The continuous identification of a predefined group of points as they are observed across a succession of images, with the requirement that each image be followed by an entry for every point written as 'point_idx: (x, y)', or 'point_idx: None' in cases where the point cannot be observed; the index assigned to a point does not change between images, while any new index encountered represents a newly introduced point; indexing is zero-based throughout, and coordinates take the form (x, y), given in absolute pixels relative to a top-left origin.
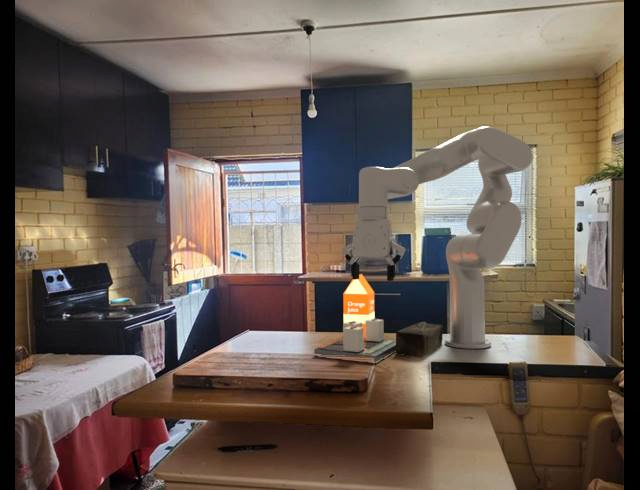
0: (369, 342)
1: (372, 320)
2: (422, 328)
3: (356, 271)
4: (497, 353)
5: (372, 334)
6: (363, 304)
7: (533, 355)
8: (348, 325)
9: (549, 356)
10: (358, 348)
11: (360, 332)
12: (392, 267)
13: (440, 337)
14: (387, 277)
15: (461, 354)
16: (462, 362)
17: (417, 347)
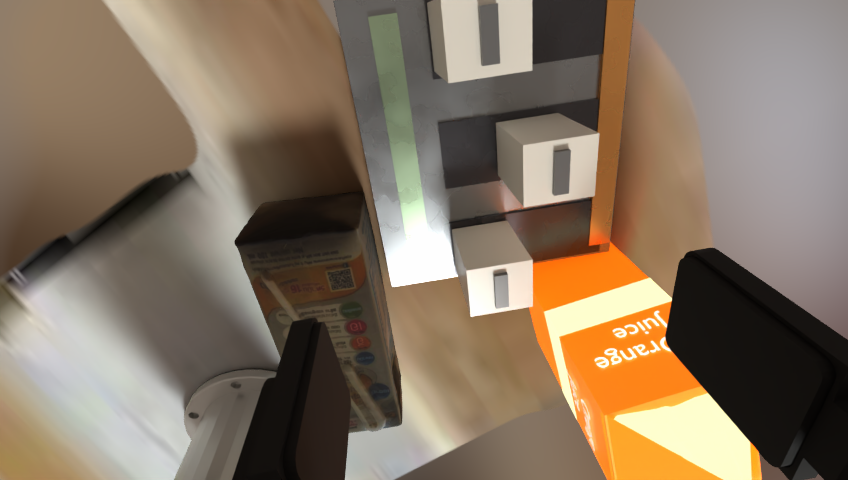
0: (484, 211)
1: (501, 272)
2: None
3: (734, 339)
4: (127, 376)
5: (484, 237)
6: (603, 364)
7: (40, 406)
8: (565, 136)
9: (2, 418)
10: (429, 8)
11: (441, 37)
12: (243, 475)
13: None
14: (314, 339)
15: (196, 312)
16: (121, 223)
17: (269, 212)
